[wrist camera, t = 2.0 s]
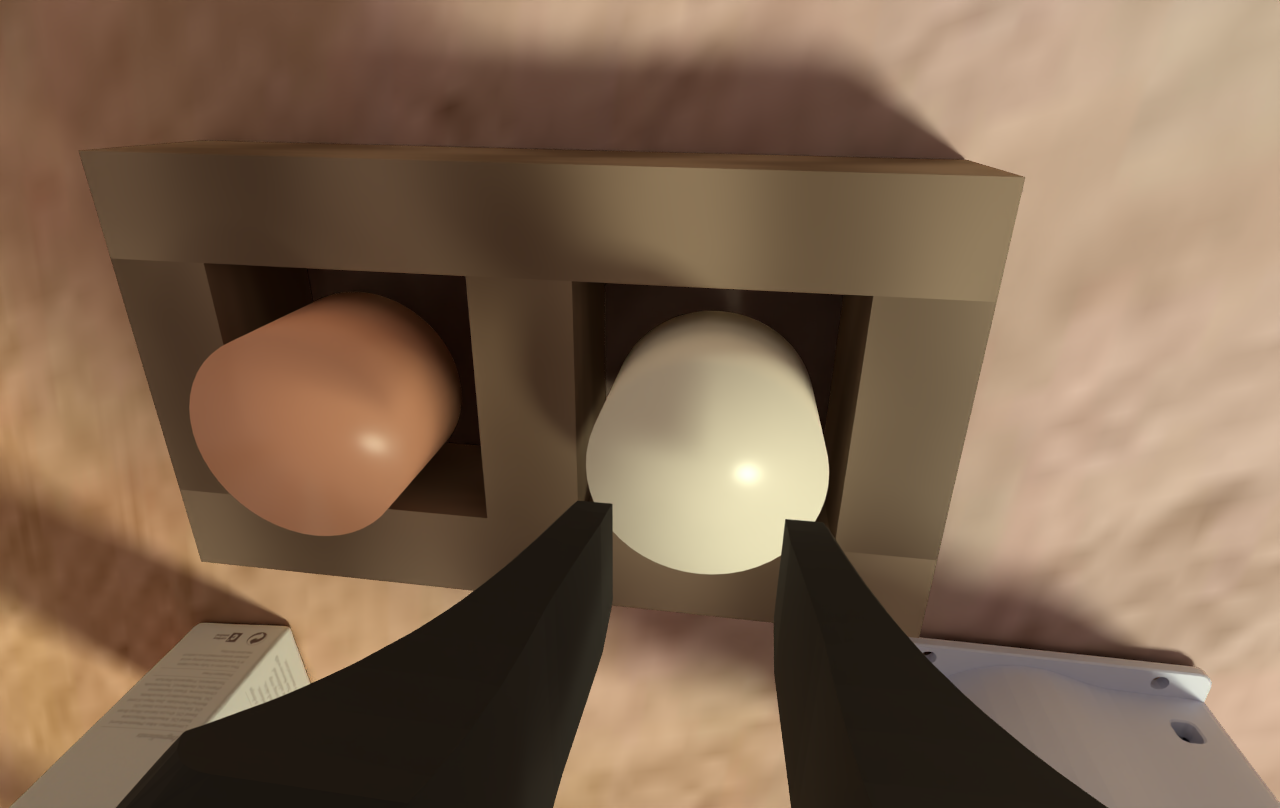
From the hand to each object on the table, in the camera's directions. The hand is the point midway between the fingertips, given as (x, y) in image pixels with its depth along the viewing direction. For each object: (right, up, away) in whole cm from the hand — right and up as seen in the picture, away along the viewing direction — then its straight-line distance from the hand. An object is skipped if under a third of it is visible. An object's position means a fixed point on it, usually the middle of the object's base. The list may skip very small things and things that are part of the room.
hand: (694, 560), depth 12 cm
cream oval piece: (+1, +3, +6) cm, 6 cm away
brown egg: (-8, +3, +7) cm, 11 cm away
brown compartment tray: (-3, +4, +9) cm, 10 cm away
